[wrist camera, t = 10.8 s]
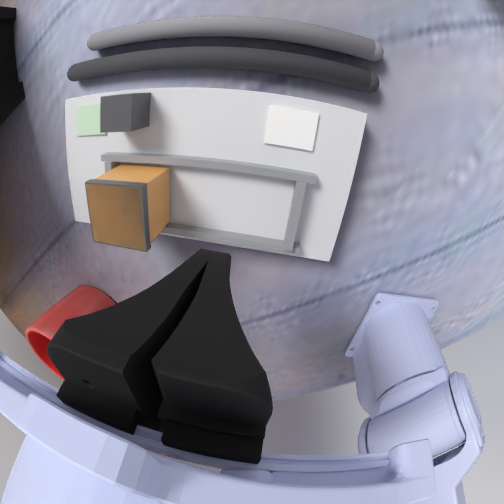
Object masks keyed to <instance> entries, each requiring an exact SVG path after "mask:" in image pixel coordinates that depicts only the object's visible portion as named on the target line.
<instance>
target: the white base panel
mask: <svg viewBox="0 0 504 504" xmlns="http://www.w3.org/2000/svg"><path fill="white" fill-rule="evenodd" d="M366 117H367V113H363V112H360V111H356V110H352V109H348V108H345V107H341V106H336V105H332V104H328V103H323V102H319V101H314V100H309V99H303V98H298V97H292V96H286V95H279V94H272V93H265V92H256V91H246V90H235V89H220V88H189V87H179V88H148V89H134V90H123V91H114V92H106V93H98V94H92V95H86V96H80V97H74V98H69V99H65V129H66V150H67V163H68V173H69V182H70V189H71V197H72V203H73V209H74V215H75V221H79V222H86V223H90V218H89V211H88V204H87V197H86V189H85V182H86V181H88V180H90V179H95V178H97V177H99V176H101V175H102V174H104V173H106V172H108V171H110V170H112V169H113V168H115V167H117V166H119V165H139V166H155V167H168V168H170V221H169V222H168V223H167V225H166V226H165V227H164V228H163V229H162V231H161V232H160V233H159V234H161V235H168V236H174V237H180V238H187V239H193V240H199V241H205V242H211V243H218V244H224V245H230V246H236V247H242V248H249V249H255V250H261V251H267V252H273V253H279V254H286V255H292V256H298V257H304V258H310V259H316V260H322V261H328V262H329V261H330V258H331V254H332V251H333V248H334V245H335V242H336V238H337V235H338V232H339V228H340V225H341V221H342V218H343V214H344V211H345V207H346V203H347V200H348V196H349V192H350V188H351V184H352V180H353V176H354V172H355V168H356V164H357V160H358V155H359V151H360V146H361V142H362V137H363V132H364V128H365V122H366Z"/></svg>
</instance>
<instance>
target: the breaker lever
mask: <svg viewBox="0 0 504 504" xmlns="http://www.w3.org/2000/svg"><path fill="white" fill-rule="evenodd" d="M85 189H86V197H87V204H88V211H89V218H90V224H91V229H92V235H93V240H94V242H97V243H102V244H107V245H112V246H117V247H123V248H128V249H133V250H139V251H144V252H148V250H149V249H150V248H151V243H152V242H153V240H154V239H155V238H156V237H157V235H158V234H159V233H160V232H161V231H162V229H163V228H164V227H165V226H166V225H167V223H168V222H169V221H170V168H168V167H155V166H139V165H119V166H117V167H115V168H113V169H112V170H110V171H108V172H106V173H104V174H102V175H101V176H99V177H97V178H95V179H90V180H88V181H86V182H85Z"/></svg>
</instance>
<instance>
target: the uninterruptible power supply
mask: <svg viewBox="0 0 504 504" xmlns="http://www.w3.org/2000/svg"><path fill="white" fill-rule="evenodd" d="M15 19H16V8H10V7H1V6H0V126H1V124H2V123H3V122H4V121H5V120H6V118H7V117H8V116H9V115H10V114H11V113H12V111H13V110H14V109H15V108H16V107H17V106H18V105H19V104H20V103H21V102H22V100H23V99H24V98H25V93H24V88H23V83H22V82H19V81H18V74H17V67H16V59H15V49H14V35H13V22H14V21H15Z"/></svg>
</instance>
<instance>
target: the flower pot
mask: <svg viewBox="0 0 504 504" xmlns="http://www.w3.org/2000/svg"><path fill="white" fill-rule="evenodd" d="M115 304H116V303H115V302H114V301H113V300H112V299H111V298H110V297H109V296H108V295H107V294H105V293H104V292H102V291H101V290H99V289H97V288H94V287H92V286H89V285H82V286H79V287H77V288H76V289H75V290H73V291H72V292H71V293H69V294H68V295H67V296H65V297H64V298H63V299H61V300H60V301H59V302H57V303H56V304H55V305H54V306H52V307H51V308H50V309H49V310H47V311H46V312H45V313H44V314H43V315H41V316H40V317H39V318H38V319H37V320H36V321H35V322H33V323H32V324H31V325H30V326H29V327H28V328H27V330H26V337H27V340H28V342H29V344H30V346H31V348H32V349H33V351H34V352H35V354H36V355H37V356H38V357H39V358H40V360H42V362H43V363H44V364H45V365H47V367H48V368H49V369H51V370H52V371H53V372H54V373H55V374H56V375H58V376H59V377H60V378H62V379H63V380H65V379H64V378H63V377H62V375H61V374H60V372H59V371H58V370H57V368H56V367H55V365H54V364H53V362H52V361H51V359H50V357H49V355H48V352H47V345H48V344H49V342H50V341H51V339H52V338H53V336H54V335H55V333H56V332H57V331H58V329H59V328H60V326H61V325H62V324H63V322H64V321H65V320H66V319H71V318H75V317H79V316H82V315H86V314H90V313H93V312H96V311H99V310H102V309H105V308H108V307H110V306H113V305H115Z"/></svg>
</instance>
